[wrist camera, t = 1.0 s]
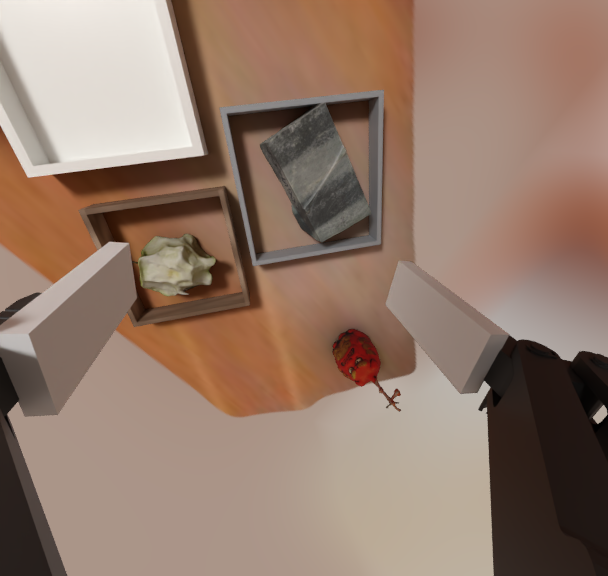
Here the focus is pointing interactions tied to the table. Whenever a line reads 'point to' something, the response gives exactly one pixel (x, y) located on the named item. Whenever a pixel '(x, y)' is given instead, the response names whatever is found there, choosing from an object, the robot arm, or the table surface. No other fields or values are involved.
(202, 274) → the pale lumpy lump
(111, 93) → the tray
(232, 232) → the wooden frame
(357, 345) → the red clay folk toy
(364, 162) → the table surface
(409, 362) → the table surface
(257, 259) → the stone frame
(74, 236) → the table surface
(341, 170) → the stone block
